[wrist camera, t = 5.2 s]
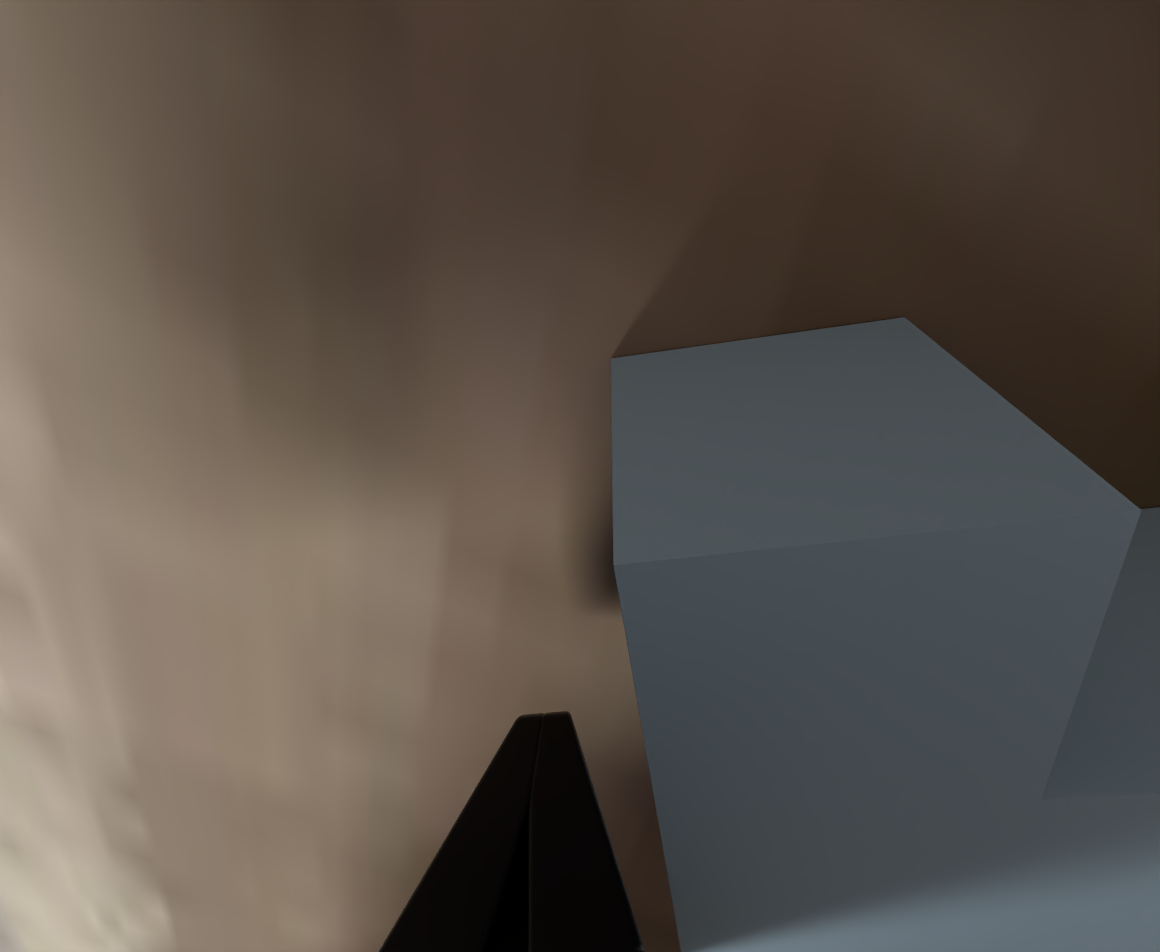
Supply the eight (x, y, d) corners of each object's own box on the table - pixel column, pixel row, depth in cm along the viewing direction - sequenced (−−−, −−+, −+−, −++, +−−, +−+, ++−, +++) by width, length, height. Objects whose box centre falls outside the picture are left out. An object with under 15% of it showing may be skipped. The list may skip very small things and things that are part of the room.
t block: (677, 818, 13) (703, 1076, 10) (610, 358, 8) (614, 565, 5) (1247, 785, 12) (1502, 1066, 9) (1595, 219, 7) (2558, 362, 3)
